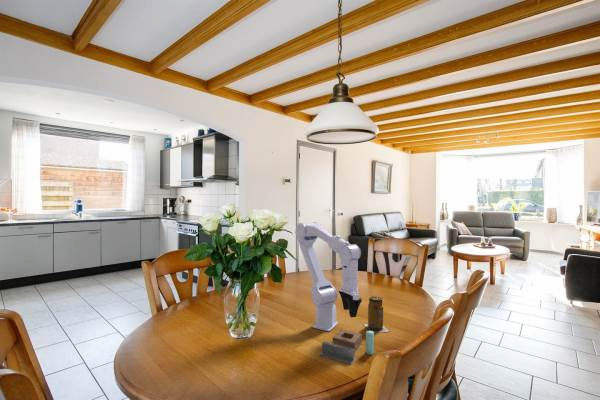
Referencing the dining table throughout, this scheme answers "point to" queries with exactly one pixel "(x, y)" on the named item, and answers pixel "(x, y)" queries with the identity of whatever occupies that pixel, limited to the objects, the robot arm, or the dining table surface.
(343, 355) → the wall
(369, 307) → the condiment
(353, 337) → the brown hollow block
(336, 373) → the dining table surface
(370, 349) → the dowel
